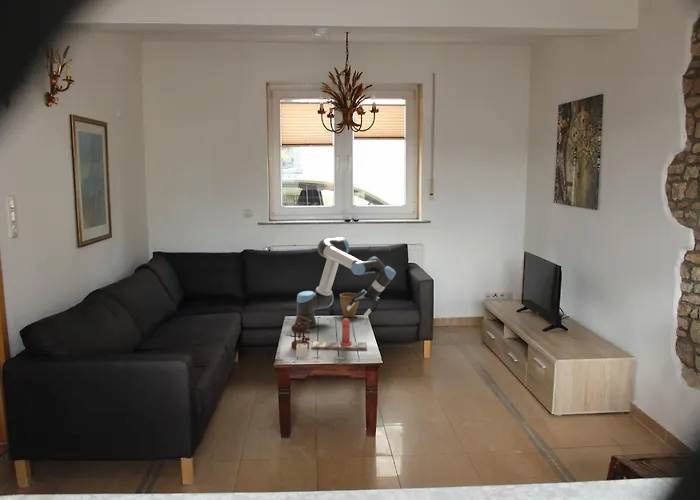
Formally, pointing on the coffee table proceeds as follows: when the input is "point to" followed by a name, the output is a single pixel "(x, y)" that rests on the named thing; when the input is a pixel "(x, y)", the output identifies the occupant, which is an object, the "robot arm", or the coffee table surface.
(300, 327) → the music box
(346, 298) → the plant pot
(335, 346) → the board
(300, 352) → the die
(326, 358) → the coffee table surface
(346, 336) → the pawn
